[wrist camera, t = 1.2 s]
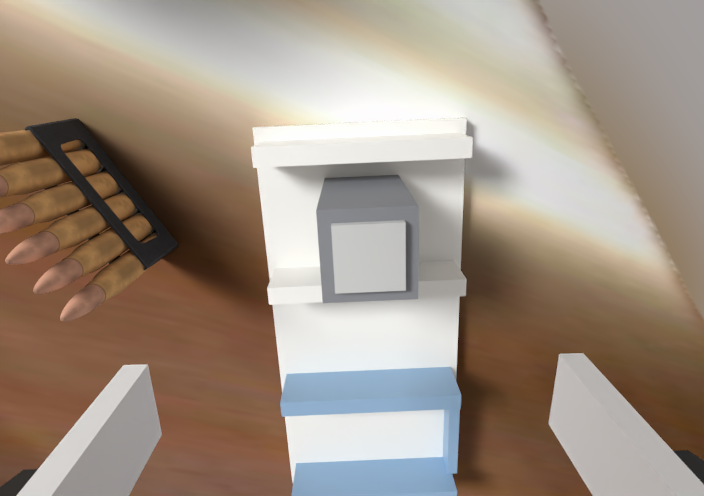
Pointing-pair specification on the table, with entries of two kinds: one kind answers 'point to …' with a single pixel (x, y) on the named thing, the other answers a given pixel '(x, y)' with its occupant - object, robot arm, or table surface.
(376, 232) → the plug
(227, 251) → the table surface
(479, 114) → the table surface
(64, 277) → the ammunition clip
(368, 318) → the slotted holder tray
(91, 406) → the robot arm
